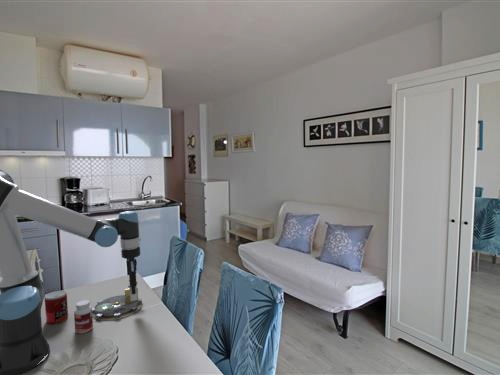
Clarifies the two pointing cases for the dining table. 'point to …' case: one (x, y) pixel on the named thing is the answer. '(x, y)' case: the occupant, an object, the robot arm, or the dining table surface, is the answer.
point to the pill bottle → (83, 317)
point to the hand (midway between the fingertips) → (133, 299)
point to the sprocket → (116, 305)
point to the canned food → (56, 307)
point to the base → (119, 317)
